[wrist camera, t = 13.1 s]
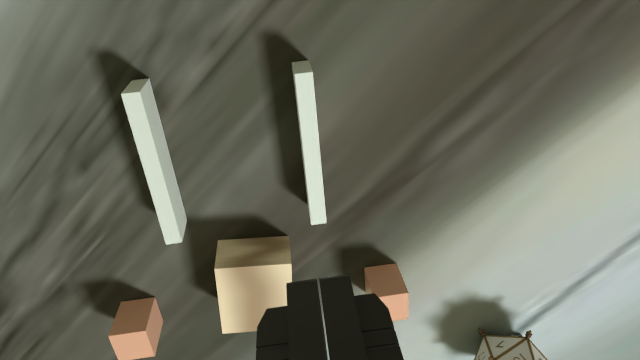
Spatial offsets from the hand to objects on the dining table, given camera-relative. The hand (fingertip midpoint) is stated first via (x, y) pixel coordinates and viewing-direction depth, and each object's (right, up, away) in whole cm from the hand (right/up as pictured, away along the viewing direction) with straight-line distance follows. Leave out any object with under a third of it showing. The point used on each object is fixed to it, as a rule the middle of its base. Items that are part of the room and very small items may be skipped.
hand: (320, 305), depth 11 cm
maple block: (-6, -5, +31) cm, 32 cm away
